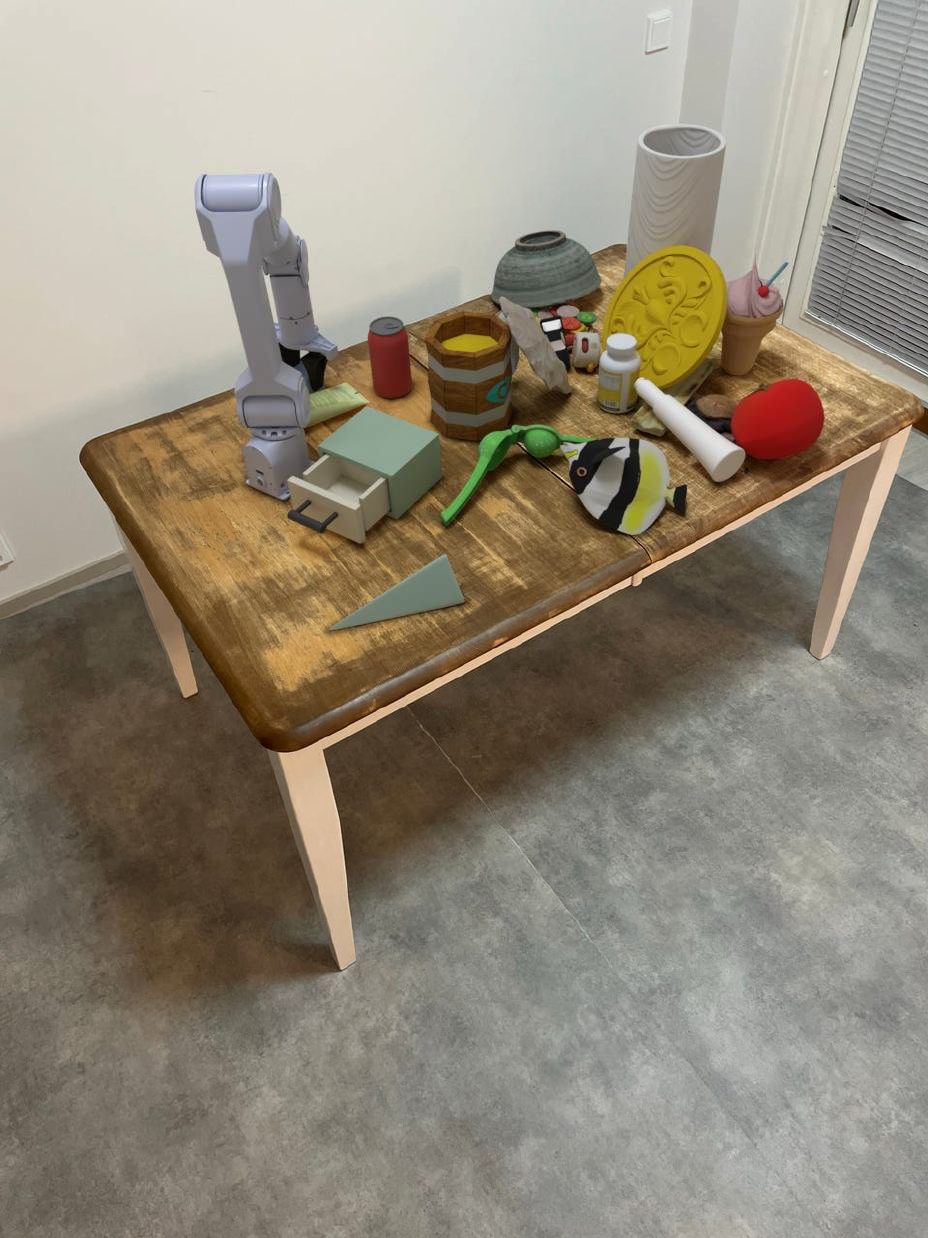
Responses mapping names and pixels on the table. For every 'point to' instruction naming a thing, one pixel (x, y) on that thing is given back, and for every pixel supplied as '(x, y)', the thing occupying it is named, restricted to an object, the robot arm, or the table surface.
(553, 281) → the bowl
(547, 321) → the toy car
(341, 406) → the tube
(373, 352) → the beer can
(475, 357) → the mug
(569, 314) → the toy food set
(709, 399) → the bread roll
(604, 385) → the pill bottle
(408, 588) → the thin wedge-shaped triangle plate
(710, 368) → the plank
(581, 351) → the roller toy
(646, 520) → the fish
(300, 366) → the pale blue cube
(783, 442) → the tomato
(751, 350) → the ice cream cone
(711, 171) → the vase
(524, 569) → the table surface
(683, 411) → the cosmetic bottle
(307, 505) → the cream drawer
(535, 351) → the stone tool
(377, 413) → the drawer cabinet
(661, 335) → the decorative medallion
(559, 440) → the lime squeezer
